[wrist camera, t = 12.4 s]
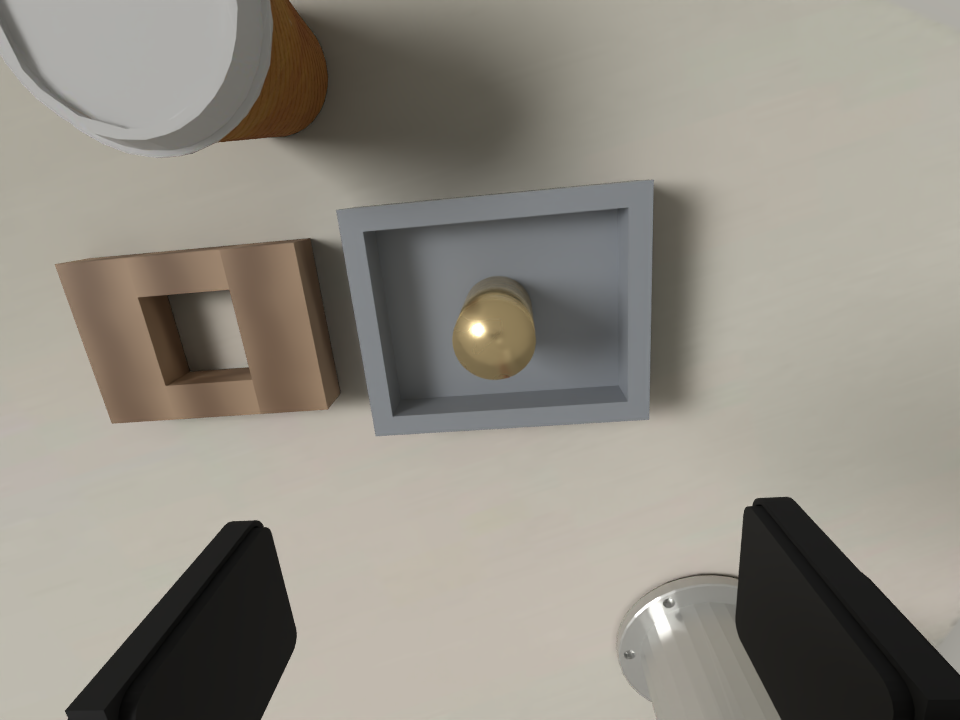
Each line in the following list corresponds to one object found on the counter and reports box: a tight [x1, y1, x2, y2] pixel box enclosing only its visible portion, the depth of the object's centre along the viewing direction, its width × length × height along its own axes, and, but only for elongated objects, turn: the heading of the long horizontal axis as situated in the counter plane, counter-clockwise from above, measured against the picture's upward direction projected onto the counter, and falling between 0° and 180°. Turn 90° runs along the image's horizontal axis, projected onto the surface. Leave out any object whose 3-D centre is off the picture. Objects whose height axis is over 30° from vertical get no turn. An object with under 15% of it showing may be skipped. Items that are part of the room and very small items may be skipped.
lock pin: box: [452, 276, 536, 380], centre depth 27 cm, size 4×4×6 cm
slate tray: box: [336, 180, 654, 436], centre depth 29 cm, size 16×13×4 cm
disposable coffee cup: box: [0, 0, 328, 158], centre depth 22 cm, size 10×10×12 cm
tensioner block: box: [55, 238, 340, 423], centre depth 31 cm, size 14×10×2 cm
